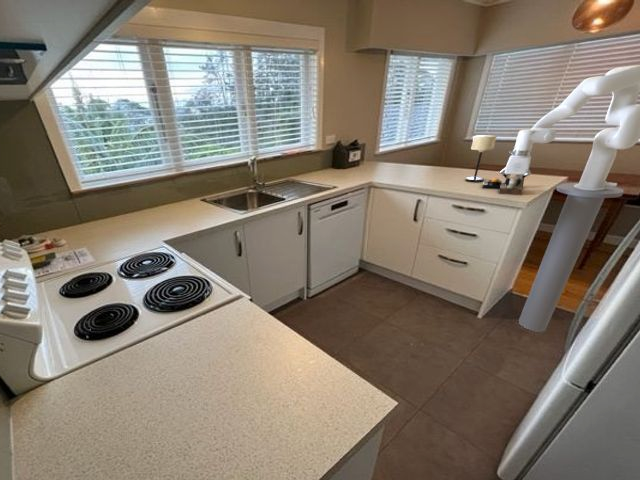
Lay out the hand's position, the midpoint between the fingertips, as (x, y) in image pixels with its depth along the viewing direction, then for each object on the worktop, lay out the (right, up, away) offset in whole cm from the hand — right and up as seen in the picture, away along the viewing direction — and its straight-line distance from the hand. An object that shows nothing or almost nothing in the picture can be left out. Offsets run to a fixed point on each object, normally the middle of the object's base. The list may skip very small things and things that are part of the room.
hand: (511, 185), depth 174 cm
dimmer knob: (0, -1, 0) cm, 1 cm away
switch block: (0, +2, +14) cm, 14 cm away
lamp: (+1, +11, +31) cm, 33 cm away
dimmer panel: (0, -4, +2) cm, 4 cm away
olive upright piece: (+11, +1, +9) cm, 14 cm away
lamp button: (0, +5, +12) cm, 13 cm away
